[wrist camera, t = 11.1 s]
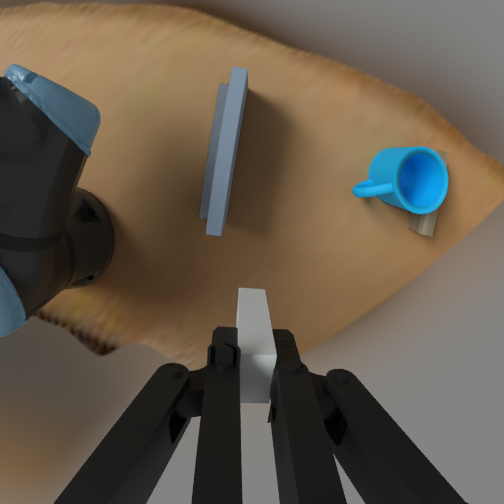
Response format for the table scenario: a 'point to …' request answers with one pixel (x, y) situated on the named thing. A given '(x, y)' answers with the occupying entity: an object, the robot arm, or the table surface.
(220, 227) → the screen
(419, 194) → the mug
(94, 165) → the table surface
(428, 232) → the block
